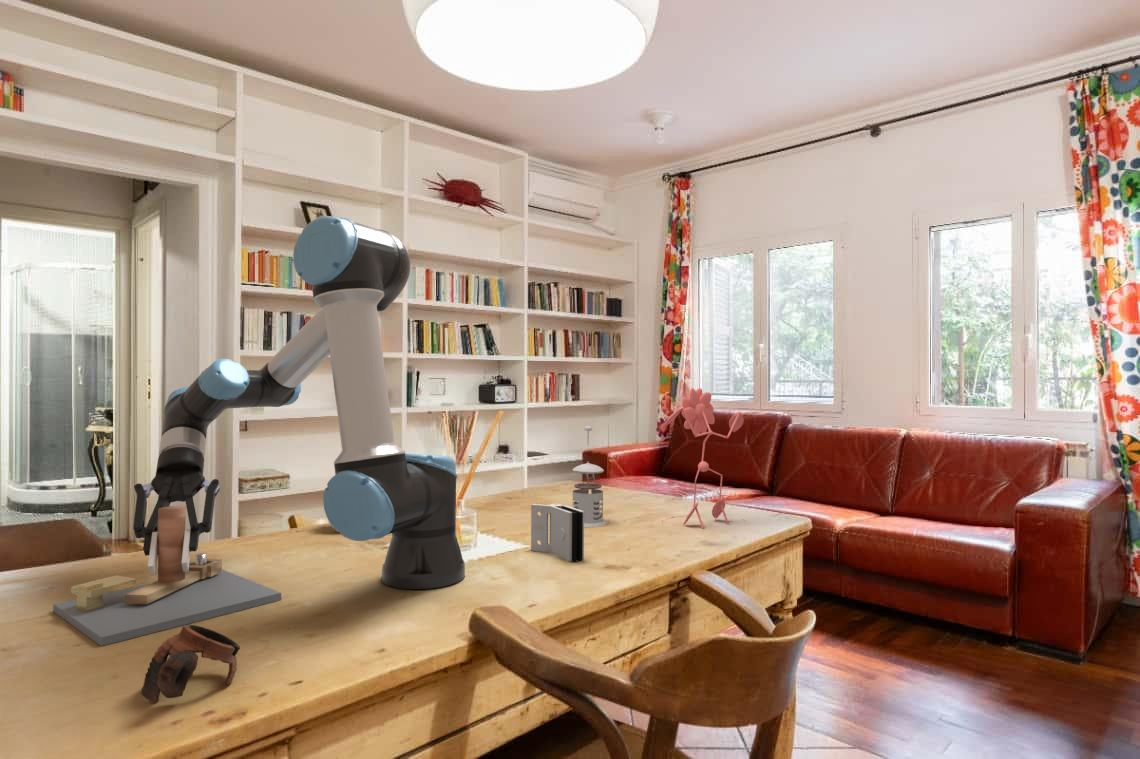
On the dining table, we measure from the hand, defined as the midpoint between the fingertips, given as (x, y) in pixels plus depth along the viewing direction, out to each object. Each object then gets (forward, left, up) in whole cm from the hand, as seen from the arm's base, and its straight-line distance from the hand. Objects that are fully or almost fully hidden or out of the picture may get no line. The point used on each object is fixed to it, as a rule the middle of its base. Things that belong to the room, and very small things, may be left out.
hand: (168, 568), depth 113 cm
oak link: (+4, -3, -4) cm, 6 cm away
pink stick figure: (-34, -114, -6) cm, 120 cm away
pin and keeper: (+4, +1, -5) cm, 7 cm away
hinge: (-28, -65, -6) cm, 71 cm away
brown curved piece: (-35, +11, -6) cm, 38 cm away
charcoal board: (-1, 0, -6) cm, 6 cm away
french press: (-13, -95, -6) cm, 96 cm away
